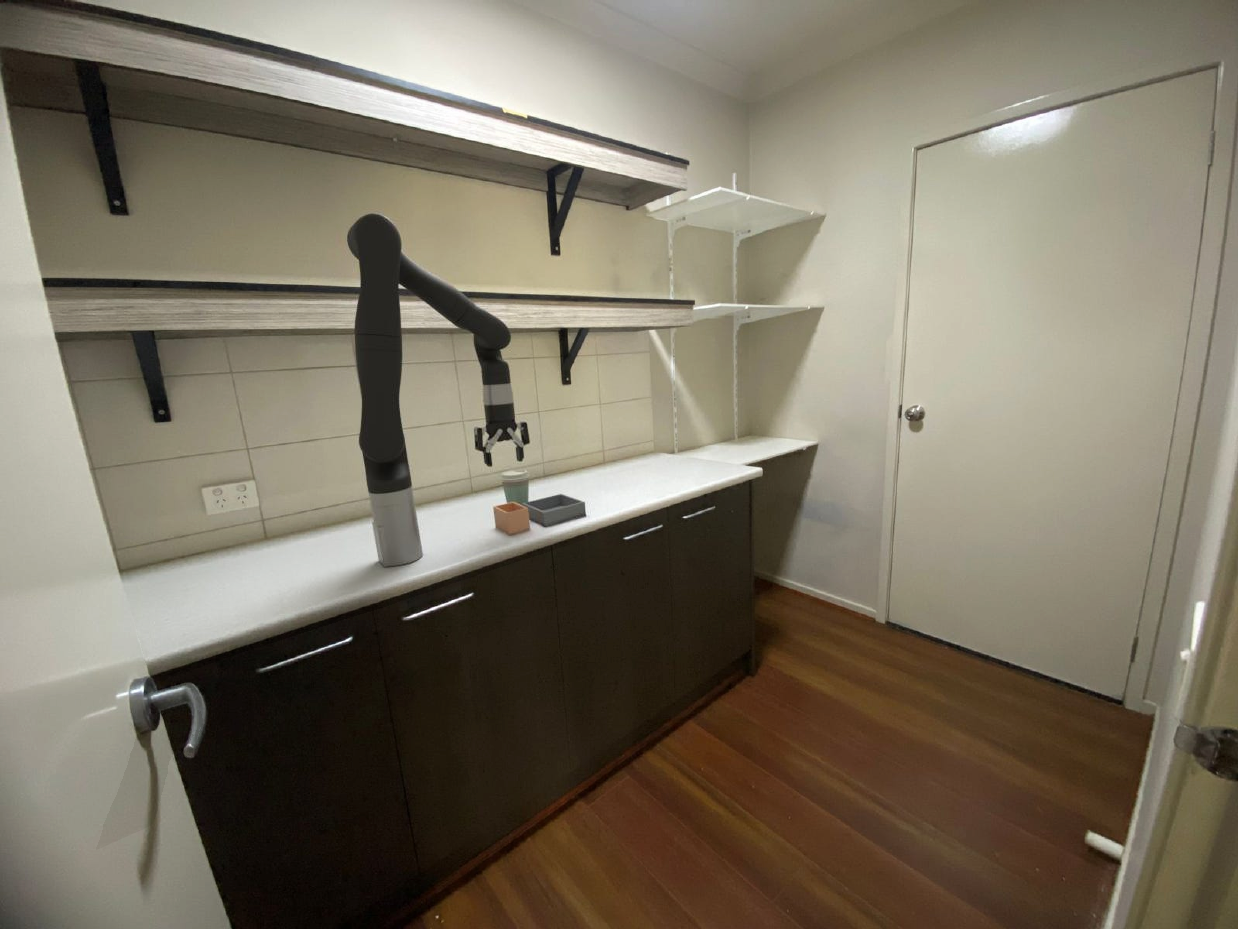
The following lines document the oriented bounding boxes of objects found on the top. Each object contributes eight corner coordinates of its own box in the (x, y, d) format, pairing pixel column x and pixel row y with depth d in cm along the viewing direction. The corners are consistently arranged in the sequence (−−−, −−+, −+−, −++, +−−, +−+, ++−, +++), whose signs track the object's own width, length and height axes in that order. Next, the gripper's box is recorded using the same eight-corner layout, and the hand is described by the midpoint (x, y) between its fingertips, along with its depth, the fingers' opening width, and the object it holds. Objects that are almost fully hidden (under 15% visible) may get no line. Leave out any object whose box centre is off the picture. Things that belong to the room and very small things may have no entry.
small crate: (509, 535, 127) (507, 513, 126) (495, 527, 134) (493, 506, 133) (530, 529, 131) (528, 508, 130) (515, 522, 138) (513, 501, 137)
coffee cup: (535, 512, 146) (531, 473, 144) (506, 517, 143) (502, 477, 141) (529, 505, 154) (525, 467, 151) (502, 509, 151) (497, 471, 148)
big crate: (545, 526, 132) (543, 512, 131) (523, 516, 143) (521, 503, 142) (585, 515, 140) (584, 502, 139) (562, 506, 150) (561, 493, 149)
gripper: (477, 405, 119) (484, 470, 122) (530, 400, 127) (535, 461, 130) (466, 404, 125) (473, 466, 128) (517, 399, 133) (523, 457, 136)
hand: (505, 463), depth 129 cm, fingers open, 8 cm apart
